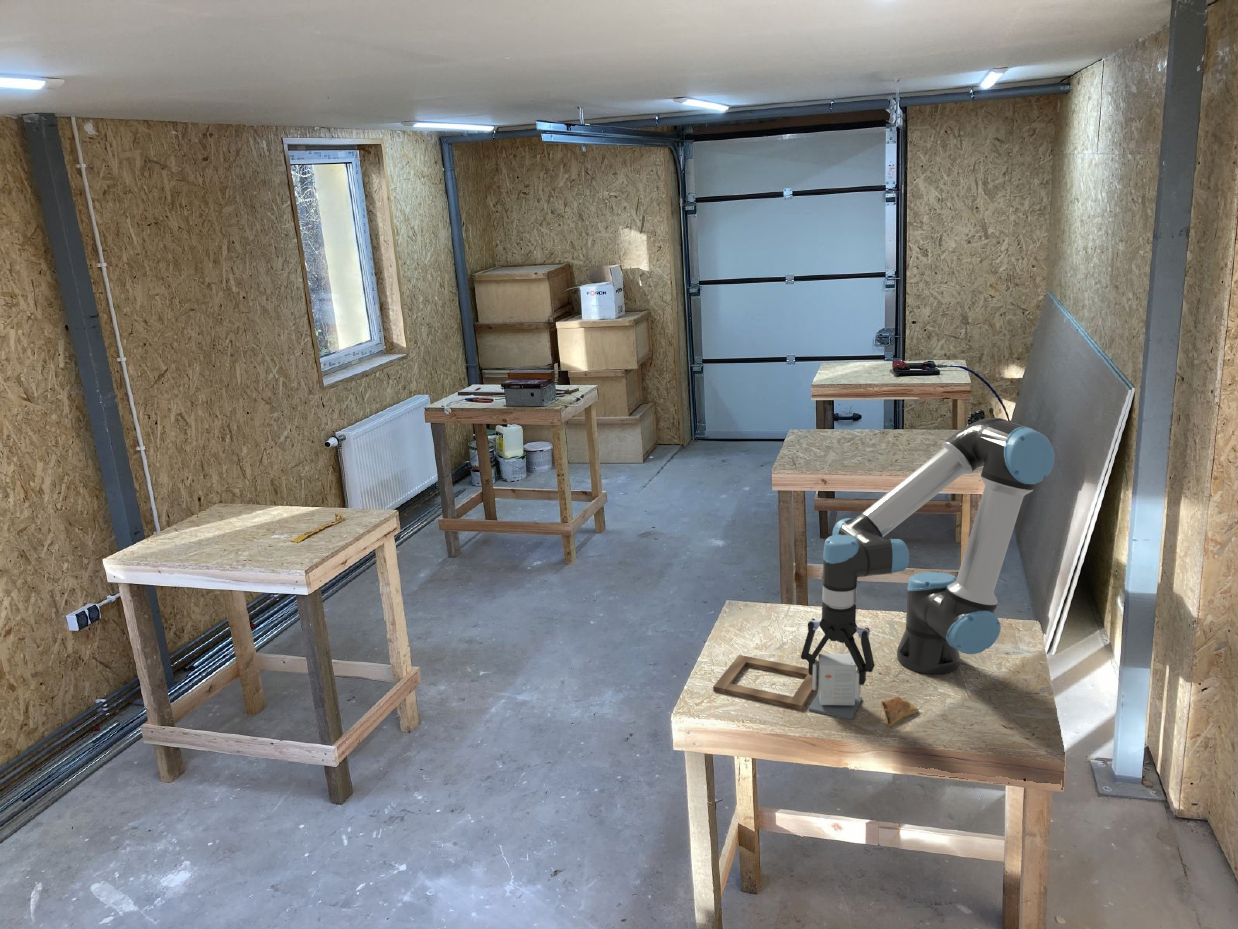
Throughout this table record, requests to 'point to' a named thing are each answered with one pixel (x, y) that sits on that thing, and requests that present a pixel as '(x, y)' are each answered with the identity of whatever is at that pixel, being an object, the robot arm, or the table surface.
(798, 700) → the wooden picture frame
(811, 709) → the pad
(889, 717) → the shard
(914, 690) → the table surface
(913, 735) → the table surface
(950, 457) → the robot arm
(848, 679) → the small box
